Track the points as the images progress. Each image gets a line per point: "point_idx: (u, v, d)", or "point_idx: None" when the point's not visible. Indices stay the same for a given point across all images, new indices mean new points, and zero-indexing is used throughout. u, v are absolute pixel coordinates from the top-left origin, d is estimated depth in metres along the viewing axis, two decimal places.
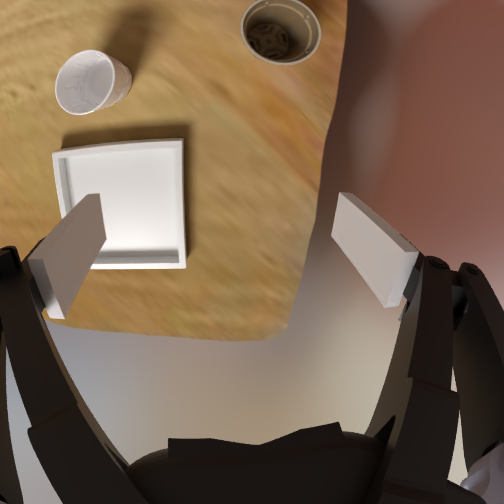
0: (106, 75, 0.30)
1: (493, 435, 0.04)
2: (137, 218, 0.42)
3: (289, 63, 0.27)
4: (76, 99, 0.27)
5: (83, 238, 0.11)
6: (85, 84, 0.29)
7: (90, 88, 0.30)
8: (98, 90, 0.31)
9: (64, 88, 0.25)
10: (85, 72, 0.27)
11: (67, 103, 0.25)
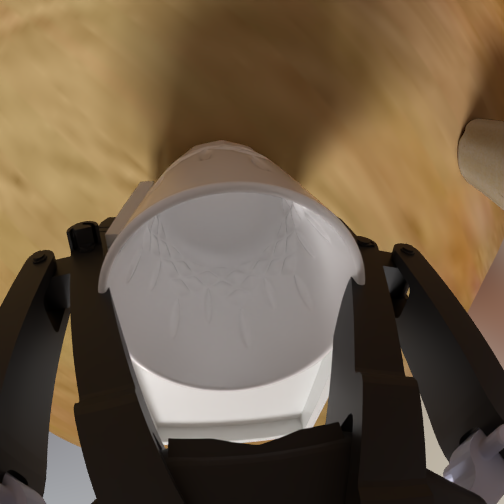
0: None
1: (467, 423, 0.05)
2: (252, 397, 0.28)
3: None
4: (160, 286, 0.12)
5: None
6: None
7: (175, 218, 0.15)
8: (197, 224, 0.15)
9: (127, 287, 0.09)
10: None
11: (155, 340, 0.10)
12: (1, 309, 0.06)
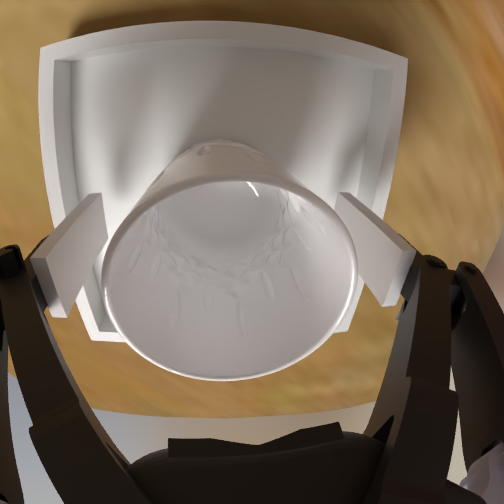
0: (219, 183, 0.15)
1: (492, 434, 0.04)
2: None
3: None
4: (160, 278, 0.12)
5: (85, 237, 0.11)
6: (161, 205, 0.14)
7: (175, 214, 0.15)
8: (197, 220, 0.16)
9: (128, 277, 0.10)
10: None
11: (155, 329, 0.10)
12: None
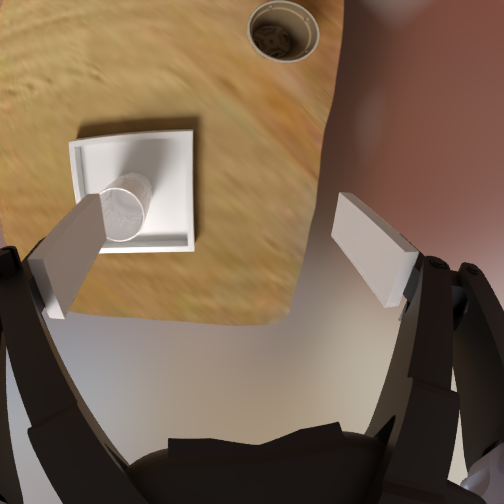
0: None
1: (493, 435, 0.04)
2: None
3: (291, 61, 0.30)
4: (108, 216, 0.39)
5: (83, 238, 0.11)
6: (111, 195, 0.41)
7: (116, 198, 0.42)
8: (124, 200, 0.43)
9: None
10: None
11: None
12: None
